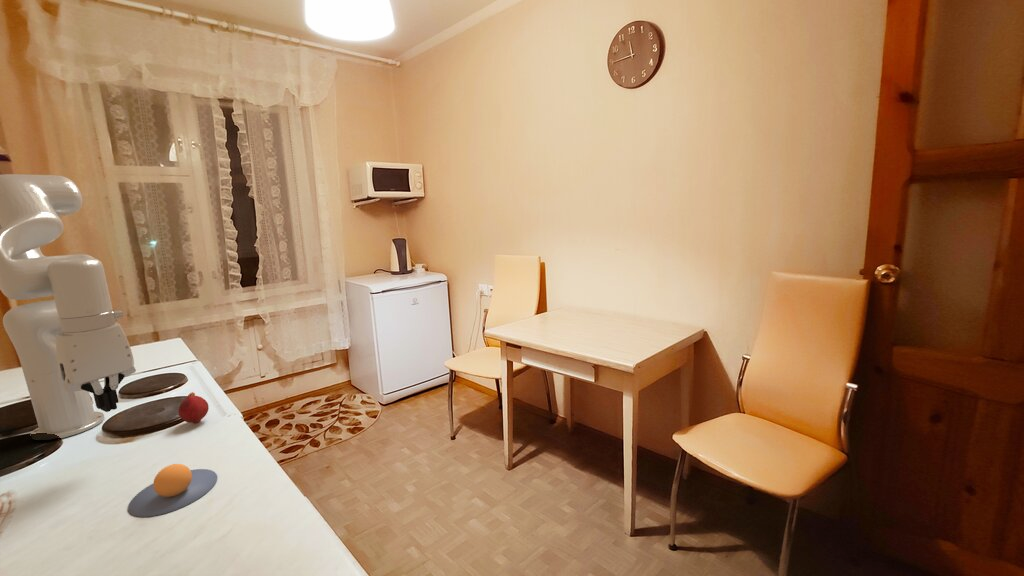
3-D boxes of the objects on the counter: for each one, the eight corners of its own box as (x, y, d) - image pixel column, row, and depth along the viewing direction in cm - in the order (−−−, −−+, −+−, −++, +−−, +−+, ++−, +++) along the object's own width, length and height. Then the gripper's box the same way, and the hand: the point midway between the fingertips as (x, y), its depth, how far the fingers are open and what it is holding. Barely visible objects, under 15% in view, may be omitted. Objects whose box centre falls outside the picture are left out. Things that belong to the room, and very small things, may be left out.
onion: (195, 430, 101) (189, 399, 99) (175, 428, 102) (168, 397, 101) (216, 418, 107) (210, 388, 105) (197, 416, 108) (191, 387, 106)
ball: (152, 471, 74) (165, 499, 74) (188, 454, 79) (201, 481, 78) (144, 479, 77) (157, 506, 76) (179, 462, 82) (192, 488, 81)
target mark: (113, 504, 76) (113, 503, 76) (193, 463, 87) (193, 462, 87) (151, 526, 70) (151, 525, 70) (232, 479, 82) (231, 478, 81)
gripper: (126, 310, 91) (143, 390, 95) (25, 330, 78) (49, 422, 82) (144, 314, 88) (161, 397, 91) (42, 336, 74) (66, 431, 78)
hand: (108, 408), depth 87 cm, fingers closed
